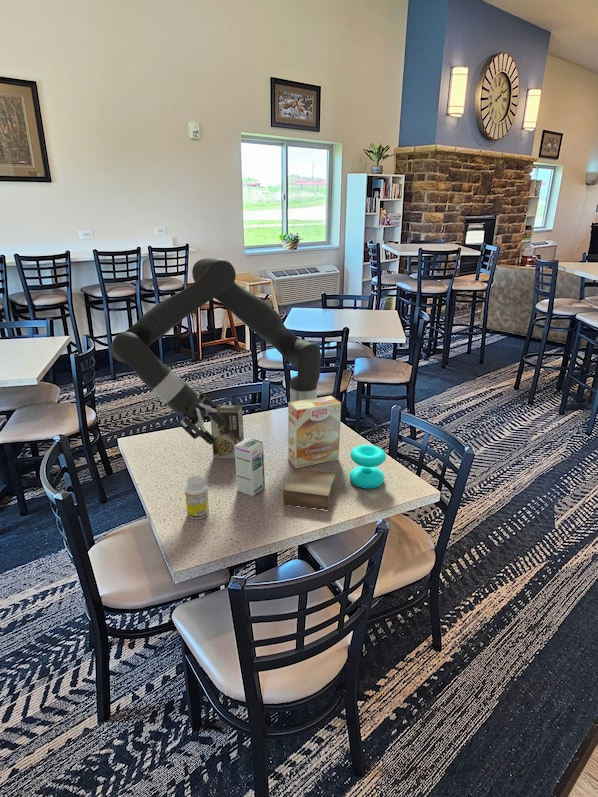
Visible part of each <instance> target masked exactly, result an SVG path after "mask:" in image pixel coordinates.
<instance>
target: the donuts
mask: <svg viewBox="0 0 598 797" xmlns="http://www.w3.org/2000/svg"><path fill="white" fill-rule="evenodd" d="M350 458H351V460H352V461H353V462H354V463H355V464H356V465H358V466H355V467H353V469H352V470H351V471H350V473H349V480H350V482H351V483H352V484H353V485H355V486H356V487H358V488H362V489H368V490H369V489H376V488H378V487H380V486H382V485H383V483H384V481H385V474H384V472H383V471H382V470H381V469H380V468H378V467H380V466H381V465H382V464H383V463H385V461H386V459H387V453H386V452H385V450H384V449H382V448H381V447H379V446H377V445H373V444H359V445H357V446H355V447H353V448H352V450H351V451H350Z"/></svg>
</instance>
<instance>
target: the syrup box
mask: <svg viewBox="0 0 598 797" xmlns="http://www.w3.org/2000/svg"><path fill="white" fill-rule="evenodd" d="M234 447H235V459H234V460H235V474H236V490H237V491H238V492H240V493H243V494H245V495H248V496H251V497H254V496H255V495H256V494H257V493H259V492H261V491H262V490H263V489H264V488H265V487H266V483H265V480H266V479H265V477H266V476H265V456H264V455H265V454H264V442H263V441H260V440H258V439H255V438H249V437H246V438H245V439H244V440H243V441H241V442H240V443H238V444H236V445H235V446H234Z"/></svg>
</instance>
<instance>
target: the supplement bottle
mask: <svg viewBox="0 0 598 797" xmlns="http://www.w3.org/2000/svg"><path fill="white" fill-rule="evenodd" d="M186 480H187V483H186V484H187V485H186V486H185V488H184V492H185V493H184V494H185V502H186V503H185V504H186V511H187V512H186V514H187V516H188V517H189V518H190V519H193V520H201V519H203V518H206V517H207V516H208V515H209V513H210V509H209V508H210V506H209V495H208V493H209V492H208V486H207V484H206V483H205V480H204V478H203V477H202V476H200V475H194V476H190V477H188V479H186Z"/></svg>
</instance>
